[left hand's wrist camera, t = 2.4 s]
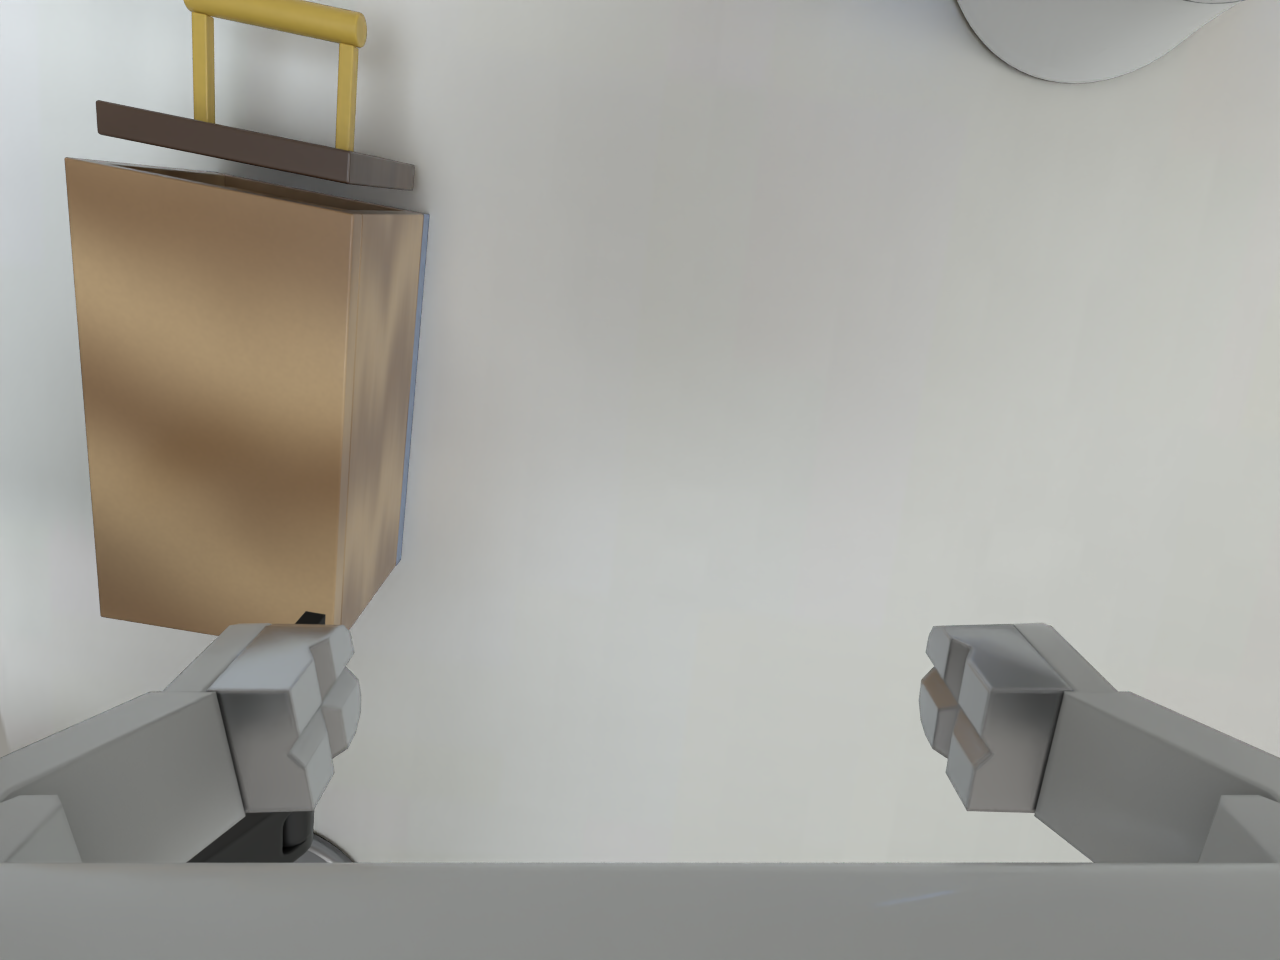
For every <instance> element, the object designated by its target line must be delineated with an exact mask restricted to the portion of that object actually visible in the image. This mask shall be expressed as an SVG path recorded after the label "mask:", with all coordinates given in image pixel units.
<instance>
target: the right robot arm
mask: <svg viewBox="0 0 1280 960" xmlns="http://www.w3.org/2000/svg"><path fill="white" fill-rule="evenodd" d="M325 618H326V614H320V613H314V612H308V611H305V613H304V614H303V615H302V616H301V617H300V618H299V620H298V621H297V622H296V623H295V624H320V625H325ZM313 825H314V810H313V811H292V812H257V813H245V817H244V818H243V819H241V820H240V821H239V822H237V823H236V824H235V825H234V826H232V827H231V828H230V829H229V830H227V831H226V832H225V833H223V834H222V835H221V836H220V837H218V838H217V839H216V840H215V841H213V842H212V843H211V844H209V845H208V846H207V847H206V848H204V849H203V850H202V851H200V852H199V853H198V854H197V855H195V856H194V857H193V858H192V859H190V860H189V861H188V862H186V863H353V862H352V861H351V860H350V859H349V858H348V857H347V856H346V855H345V854H344V853H343V852H341V851H340V850H339V849H338V848H336V847H335V846H334V845H332V844H331V843H329V842H328V841H326V840H324V839H322V838H321V837H319V836H317V835H315V834H313Z"/></svg>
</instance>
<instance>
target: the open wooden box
mask: <svg viewBox="0 0 1280 960" xmlns="http://www.w3.org/2000/svg"><path fill="white" fill-rule="evenodd" d="M65 170H66V183H67V195H68V208H69V221H70V233H71V246H72V259H73V271H74V284H75V297H76V309H77V322H78V334H79V347H80V360H81V372H82V385H83V398H84V410H85V423H86V436H87V448H88V461H89V474H90V486H91V499H92V511H93V524H94V537H95V549H96V562H97V575H98V587H99V600H100V613H101V617H106V618H112V619H118V620H125V621H131V622H137V623H143V624H149V625H155V626H161V627H167V628H173V629H180V630H186V631H192V632H198V633H204V634H210V635H216V636H219V635H220V634H221V633H222V632H223V631H224V630H225V629H226V628H227V627H228V626H229V625H234V624H245V623H270V624H295V623H296V622H297V621H298V620H299V618H300V617H301V616H302V615H303V614H304V613H305V611H308V612H314V613H320V614H326V618H325V625H344V626H345V627H346V628H347V629H348V630H350V628H351V627H352V625H353V624H354V623H355V621H356V620H357V618H358V617H359V616H360V614H361V613H362V611H363V610H364V609H365V607H366V606H367V605H368V603H369V602H370V600H371V599H372V598H373V596H374V595H375V593H376V592H377V591H378V589H379V588H380V586H381V585H382V584H383V582H384V581H385V580H386V578H387V577H388V575H389V574H390V573H391V571H392V570H393V568H394V567H395V566H396V565H397V564H398V563H399V561H400V560H401V550H402V538H403V526H404V514H405V502H406V490H407V478H408V466H409V454H410V442H411V430H412V418H413V406H414V394H415V382H416V370H417V358H418V346H419V334H420V322H421V310H422V298H423V285H424V273H425V261H426V249H427V237H428V225H429V214H424V213H419V212H414V211H409V210H404V209H398V208H393V207H388V206H383V205H378V204H373V203H368V202H363V201H358V200H353V199H348V198H343V197H338V196H333V195H328V194H323V193H318V192H313V191H308V190H303V189H298V188H293V187H288V186H283V185H278V184H273V183H268V182H263V181H258V180H253V179H248V178H242V177H237V176H232V175H227V174H222V173H218V172H211V171H198V170H188V169H178V168H168V167H158V166H148V165H138V164H128V163H118V162H109V161H99V160H89V159H79V158H69V157H66V158H65ZM222 186H224V187H222ZM225 186H226V187H225ZM227 187H235V188H240V189H245V190H250V191H255V192H260V193H265V194H270V195H275V196H281V197H286V198H291V199H296V200H301V201H306V202H311V203H316V204H321V205H326V206H331V207H336V208H341V209H346V210H339V209H333V208H328V207H323V206H318V205H313V204H308V203H303V202H298V201H293V200H288V199H283V198H278V197H273V196H268V195H263V194H258V193H253V192H248V191H242V190H237V189H232V188H227Z"/></svg>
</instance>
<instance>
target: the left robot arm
mask: <svg viewBox="0 0 1280 960" xmlns="http://www.w3.org/2000/svg"><path fill="white" fill-rule="evenodd" d="M957 1H958V4H959V6H960V8H961V10H962V12H963V14H964V16H965V18H966V19H967V21H968V23H969V25H970V26H971V28H972V29H973V30H974V32H975V33H976V35H977V36H978V37H979V38H980V39H981V41H982V42H983V43H984V44H985V45H986V46H987V47H988V48H989V49H990V50H991V51H992V52H993V53H994V54H995V55H997V56H998V57H999V58H1000V59H1002V60H1003V61H1005V62H1006V63H1007V64H1009V65H1010V66H1012V67H1014V68H1016V69H1018V70H1019V71H1022V72H1024V73H1026V74H1028V75H1031V76H1034V77H1037V78H1040V79H1044V80H1048V81H1054V82H1060V83H1089V82H1097V81H1103V80H1107V79H1111V78H1115V77H1118V76H1121V75H1124V74H1127V73H1130V72H1132V71H1135V70H1137V69H1139V68H1141V67H1143V66H1146V65H1148V64H1150V63H1151V62H1153V61H1155V60H1157V59H1158V58H1160V57H1162V56H1163V55H1165V54H1166V53H1168V52H1169V51H1171V50H1172V49H1173V48H1175V47H1176V46H1177V45H1179V44H1180V43H1181V42H1183V41H1184V40H1185V39H1187V38H1188V37H1189V36H1190V35H1192V34H1193V33H1194V32H1195V31H1197V30H1198V29H1200V28H1201V27H1202V26H1204V25H1205V24H1207V23H1208V22H1209V21H1211V20H1212V19H1214V18H1215V17H1217V16H1218V15H1220V14H1222V13H1223V12H1225V11H1226V10H1228V9H1230V8H1231V7H1233V6H1234V5H1236V4H1238V3H1240V2H1241V1H1244V0H957ZM353 654H354V648H353V643H352V638H351V633H350V631H349V630H348V629H347V628H346V627H345V626H344V625H320V624H270V623H245V624H234V625H229V626H228V627H227V628H226V629H225V630H224V631H223V632H222V633H221V634H220V635H219V636H218V637H217V638H216V639H215V640H214V641H213V642H212V643H211V644H210V645H209V646H208V647H207V648H206V649H205V650H204V651H203V652H202V653H201V654H200V655H199V656H198V657H197V658H196V659H195V660H194V661H193V662H192V663H191V664H190V665H189V666H188V667H187V668H186V669H185V670H184V671H183V672H182V673H181V674H179V675H178V676H177V677H176V678H175V679H174V680H173V681H172V682H171V683H170V684H169V685H168V686H167V687H166V688H165V689H164V690H163V691H162V692H148V693H146V694H144V695H141V696H139V697H137V698H135V699H132V700H130V701H128V702H126V703H123V704H121V705H119V706H116V707H114V708H112V709H110V710H107V711H105V712H103V713H101V714H98V715H96V716H94V717H92V718H89V719H87V720H85V721H83V722H80V723H78V724H76V725H73V726H71V727H69V728H67V729H64V730H62V731H60V732H58V733H55V734H53V735H51V736H49V737H46V738H44V739H42V740H40V741H37V742H35V743H33V744H31V745H28V746H26V747H24V748H21V749H19V750H17V751H15V752H12V753H10V754H8V755H6V756H4V757H1V758H0V960H1280V758H1279V757H1276V756H1274V755H1272V754H1269V753H1267V752H1265V751H1263V750H1260V749H1258V748H1256V747H1254V746H1251V745H1249V744H1247V743H1245V742H1242V741H1240V740H1238V739H1236V738H1233V737H1231V736H1229V735H1227V734H1224V733H1222V732H1220V731H1218V730H1215V729H1213V728H1211V727H1209V726H1206V725H1204V724H1202V723H1200V722H1197V721H1195V720H1193V719H1191V718H1188V717H1186V716H1184V715H1182V714H1179V713H1177V712H1175V711H1173V710H1170V709H1168V708H1166V707H1164V706H1161V705H1159V704H1157V703H1154V702H1152V701H1150V700H1148V699H1145V698H1143V697H1141V696H1139V695H1136V694H1134V693H1132V692H1118V691H1117V690H1116V689H1115V688H1114V687H1113V686H1112V685H1111V684H1110V683H1109V682H1108V681H1107V680H1106V679H1105V678H1104V677H1103V676H1102V675H1101V674H1100V673H1099V672H1098V671H1097V670H1096V669H1095V668H1094V667H1093V666H1092V665H1090V664H1089V663H1088V662H1087V661H1086V660H1085V659H1084V658H1083V657H1082V656H1081V655H1080V654H1079V653H1078V652H1077V651H1076V650H1075V649H1074V648H1073V647H1072V646H1071V645H1070V644H1069V643H1068V642H1067V641H1066V640H1065V639H1064V638H1063V637H1062V636H1061V635H1060V634H1059V633H1058V632H1057V631H1056V630H1055V629H1054V628H1053V627H1052V626H1049V625H1047V624H1044V623H1024V624H993V625H953V626H933V628H932V630H931V632H930V634H929V637H928V642H927V648H926V654H927V655H928V657H929V658H930V660H931V662H932V663H933V665H934V667H933V668H932V669H931V670H930V671H929V672H928V673H927V675H926V676H925V677H924V678H923V679H922V680H921V687H920V695H919V707H920V718H921V723H922V726H923V729H924V732H925V735H926V737H927V739H928V741H929V743H930V745H931V747H932V749H934V750H935V751H937V752H938V753H940V754H941V755H943V756H944V757H946V758H948V761H947V767H946V774H947V776H948V778H949V780H950V781H951V783H952V785H953V787H954V789H955V790H956V792H957V794H958V796H959V797H960V799H961V801H962V803H963V805H964V806H965V808H966V810H967V811H987V812H1023V813H1035V815H1034V816H1035V817H1036V818H1038V819H1039V820H1040V821H1042V822H1043V823H1044V824H1045V825H1047V826H1048V827H1049V828H1051V829H1052V830H1053V831H1054V832H1056V833H1057V834H1058V835H1059V836H1061V837H1062V838H1063V839H1065V840H1066V841H1067V842H1068V843H1070V844H1071V845H1072V846H1073V847H1075V848H1076V849H1077V850H1079V851H1080V852H1081V853H1082V854H1084V855H1085V856H1086V857H1087V858H1089V859H1090V860H1091V861H1093V862H1094V863H186V862H188V861H189V860H190V859H192V858H193V857H194V856H195V855H197V854H198V853H199V852H200V851H202V850H203V849H204V848H206V847H207V846H208V845H209V844H211V843H212V842H213V841H215V840H216V839H217V838H218V837H220V836H221V835H222V834H223V833H225V832H226V831H227V830H229V829H230V828H231V827H232V826H234V825H235V824H236V823H237V822H239V821H240V820H241V819H243V818H244V817H245V813H257V812H292V811H313V810H314V808H315V807H316V805H317V803H318V801H319V799H320V798H321V796H322V794H323V792H324V790H325V789H326V787H327V785H328V783H329V781H330V780H331V778H332V776H333V774H334V767H333V761H332V759H333V758H334V757H336V756H337V755H339V754H340V753H342V752H343V751H345V750H346V749H348V747H349V745H350V743H351V741H352V739H353V737H354V735H355V733H356V730H357V725H358V721H359V717H360V713H361V692H360V685H359V680H358V679H357V678H356V677H355V676H354V674H353V673H352V672H351V671H350V670H349V669H348V668H347V667H346V665H347V663H348V662H349V660H350V659H351V657H352V655H353Z"/></svg>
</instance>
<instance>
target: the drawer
mask: <svg viewBox="0 0 1280 960" xmlns="http://www.w3.org/2000/svg"><path fill="white" fill-rule="evenodd" d="M184 3H185V5H186V7H187V8H188V9H189V10H190V11H191V12H192V45H193V91H194V119H189V118H184V117H179V116H174V115H169V114H164V113H159V112H154V111H149V110H144V109H140V108H135V107H130V106H125V105H120V104H115V103H110V102H105V101H100V100H98V101H96V112H97V127H98V133H99V134H101V135H105V136H110V137H115V138H120V139H125V140H130V141H135V142H140V143H145V144H150V145H155V146H160V147H165V148H170V149H175V150H180V151H185V152H190V153H195V154H200V155H205V156H210V157H215V158H220V159H225V160H230V161H235V162H240V163H245V164H250V165H255V166H260V167H265V168H270V169H275V170H280V171H285V172H290V173H295V174H300V175H305V176H311V177H316V178H321V179H326V180H331V181H336V182H341V183H346V184H353V185H363V186H372V187H381V188H391V189H400V190H410V191H412V190H413V182H414V169H415V167H414V165H412V164H407V163H402V162H398V161H393V160H389V159H384V158H379V157H375V156H370V155H366V154H361V153H356V152H353V151H354V132H355V111H356V90H357V69H358V48H357V47H359V48H361V47H363V46H364V45H365V42H366V37H367V26H366V21H365V17H364V15H363V14H362V13H360V12H355V11H350V10H346V9H341V8H336V7H332V6H327V5H322V4H318V3H313V2H308V1H304V0H184ZM210 16H212V17H216V18H221V19H226V20H231V21H235V22H240V23H245V24H250V25H254V26H259V27H264V28H269V29H273V30H278V31H283V32H288V33H292V34H297V35H302V36H307V37H311V38H316V39H321V40H326V41H330V42H335V43H340V44H339V69H338V94H337V119H336V145H335V148H332V147H327V146H322V145H317V144H312V143H308V142H303V141H298V140H293V139H288V138H283V137H278V136H273V135H268V134H263V133H258V132H253V131H248V130H243V129H238V128H233V127H228V126H224V125H219V124H215V83H214V19H213V18H212V17H210ZM222 187H224V186H222ZM225 187H226V186H225ZM227 188H232V189H237V190H242V191H248V192H253V193H258V194H263V195H268V196H273V197H278V198H283V199H288V200H293V201H298V202H303V203H308V204H313V205H318V206H323V207H328V208H333V209H339V210H346V209H341V208H336V207H331V206H326V205H321V204H316V203H311V202H306V201H301V200H296V199H291V198H286V197H281V196H275V195H270V194H265V193H260V192H255V191H250V190H245V189H240V188H235V187H227Z"/></svg>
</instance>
